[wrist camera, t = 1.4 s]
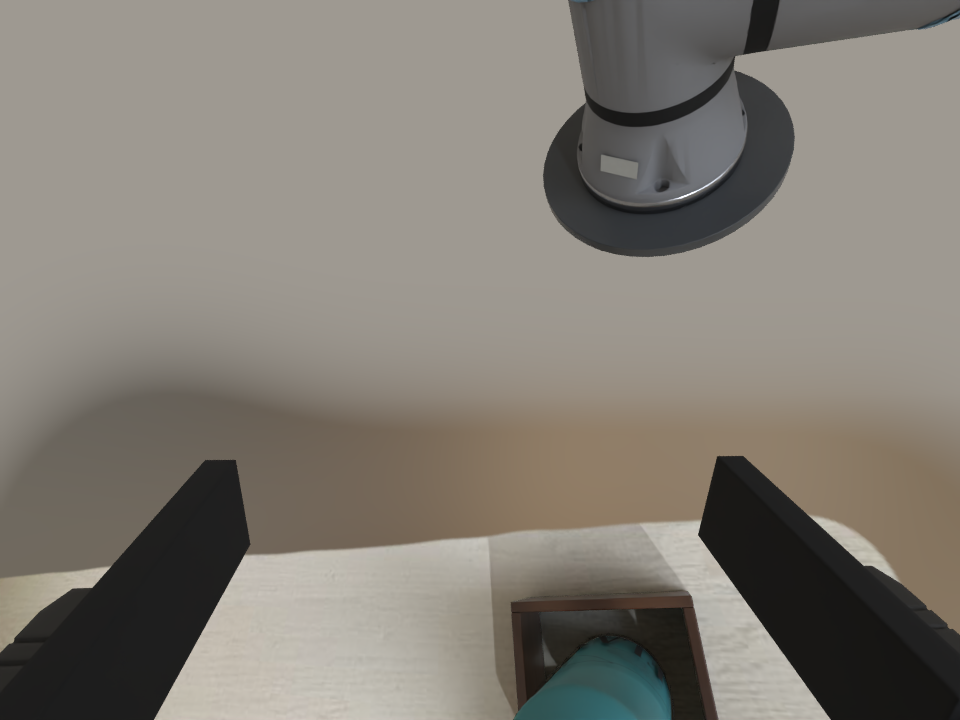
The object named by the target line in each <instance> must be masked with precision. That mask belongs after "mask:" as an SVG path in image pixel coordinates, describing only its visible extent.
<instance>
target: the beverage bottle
mask: <svg viewBox="0 0 960 720" xmlns="http://www.w3.org/2000/svg"><path fill="white" fill-rule="evenodd" d="M599 635H600V634H599ZM599 635H598V638H595V639H592V638H591V639H592V640H590V638H589V640H590V641H589V642H587V641H586V642H587V643H586V644H584V643H583V644H581V645H579V646H578V647H581V648H580V649H578V651H577V652H576V653H575V654H574V655H573V656H572V657H571V658H570V659H569V660H568V661H566V662H565V663H564V662H563V663H564V665H563V664H562V668H561V667H560V668H561V669H560V670H559V671H558V672H557V673H556V674H555V673H554V674H555V675H553V677H551V678H550V680H549V681H548V682H547V683H546V684H545V685H544V686H543V685H542V686H543V687H541V689H540V690H539V691H538V692H537V690H538V689H537V690H535V693H536V692H537V693H536V694H535V693H534V694H535V695H534V696H532V697H531V698H530V699H529V700H528V701H527V702H526V703H525V704H524V705H523V706H522V708H521V709H520V710H519V712H518V713H517V714H516V716H515V718H514V719H513V720H672V719H671V698H670V692H669V689H668V685H667V682H666V680H665V677H664V676H665V675H663V674H665V673H663V672H664V671H663V672H662V670H661V669H662V668H660V667H659V666H660V665H658V664H657V663H658V662H657V663H656V661H655V660H654V659H655V658H654V659H653V658H652V656H651V654H652V653H651V652H650V651H649V650H648V649H647V650H648V651H649V652H650V653H651V654H650V653H648V652H647V650H646V649H645V648H644V649H645V650H646V651H645V650H644V649H643V648H642V647H640V646H639V645H637V644H638V643H637V644H636V642H637V641H636V642H635V641H633V639H632V640H631V641H630V639H631V638H630V639H629V640H628V639H625V638H622V637H617V636H599ZM606 635H612V634H610V633H607V634H606ZM595 636H596V635H595ZM595 636H594V637H595ZM622 636H623V635H622ZM625 637H626V636H625ZM628 638H629V637H628ZM632 641H633V642H632ZM634 642H635V643H634ZM639 644H640V643H639ZM642 646H643V645H642ZM643 647H644V646H643ZM575 650H576V649H575ZM573 652H574V651H573ZM570 655H571V654H570ZM570 655H569V656H570ZM652 655H653V654H652ZM566 659H567V658H566ZM566 659H565V660H566ZM656 660H657V659H656ZM659 664H660V663H659ZM560 665H561V664H559V666H560ZM661 667H662V666H661ZM558 668H559V667H558ZM558 668H557V669H558ZM557 669H556V668H555V670H553V672H554V671H556V670H557ZM551 673H552V672H551ZM551 673H550V674H551ZM550 674H549V675H548V676H550ZM552 674H553V673H552ZM546 679H547V678H546ZM544 681H545V679H544ZM541 684H542V683H541ZM669 684H670V683H669ZM539 686H541V685H539ZM670 687H671V686H670ZM672 700H673V699H672ZM672 704H673V707H674V701H673V703H672ZM673 710H674V709H673ZM673 713H674V712H673ZM673 716H674V714H673ZM674 719H675V718H674ZM674 719H673V720H674Z"/></svg>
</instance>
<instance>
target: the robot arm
mask: <svg viewBox="0 0 960 720" xmlns="http://www.w3.org/2000/svg"><path fill="white" fill-rule="evenodd" d="M568 1H569V7H570V12H571V17H572V23H573V29H574V35H575V40H576V46H577V51H578V56H579V63H580V68H581V74H582V79H583V84H584V90H585V96H586V104H585V109H584V114H583V120H582V130H581V133H580V137H579V141H578V149H577V162H578V167H579V171H580V176H581V179H582V182H583V184H584V186H585V188H586V189H587V191H588V192H589V193H590V194H591V195H592V197H594V198H595V199H596V200H597V201H599V202H600V203H602V204H603V205H605V206H607V207H609V208H612V209H614V210H618V211H621V212H626V213H632V214H658V213H665V212H670V211H674V210H677V209H681V208H684V207H686V206H689V205H691V204H694V203H696V202H698V201H700V200H702V199H704V198H705V197H707V196H708V195H710V194H712V193H713V192H714V191H716V190H717V189H718V188H719V187H721V186H722V185H723V184H724V183H725V182H726V181H727V180H728V179H729V178H730V177H731V175H732V174H733V173H734V171H735V170H736V168H737V167H738V165H739V163H740V161H741V159H742V156H743V153H744V148H745V143H746V137H747V130H748V125H747V116H746V111H745V108H744V105H743V102H742V100H741V98H740V97H739V92H738V88H737V81H736V76H735V72H734V60H735V56H738V55H744V54H750V53H755V52H761V51H769V50H776V49H783V48H790V47H797V46H803V45H810V44H817V43H824V42H830V41H837V40H844V39H850V38H858V37H864V36H871V35H878V34H885V33H892V32H898V31H905V30H914V29H927V28H931V27H935V26H937V25H940V24H942V23H945V22H948V21H950V20H954V19H959V18H960V0H568ZM698 536H699V537H700V538H701V540H702V541H703V543H704V544H705V545H706V547H707V548H708V550H709V551H710V552H711V554H712V555H713V556H714V558H715V559H716V561H717V562H718V563H719V565H720V566H721V568H722V569H723V570H724V572H725V573H726V575H727V576H728V577H729V579H730V580H731V581H732V583H733V584H734V586H735V587H736V588H737V590H738V591H739V593H740V594H741V595H742V597H743V598H744V600H745V601H746V602H747V604H748V605H749V606H750V608H751V609H752V611H753V612H754V613H755V615H756V616H757V618H758V619H759V620H760V622H761V623H762V625H763V626H764V627H765V629H766V630H767V632H768V633H769V634H770V636H771V637H772V638H773V640H774V641H775V643H776V644H777V645H778V647H779V648H780V650H781V651H782V652H783V654H784V655H785V657H786V658H787V659H788V661H789V662H790V663H791V665H792V666H793V668H794V669H795V670H796V672H797V673H798V675H799V676H800V677H801V679H802V680H803V682H804V683H805V684H806V686H807V687H808V689H809V690H810V691H811V693H812V694H813V695H814V697H815V698H816V700H817V701H818V702H819V704H820V705H821V707H822V708H823V709H824V711H825V712H826V714H827V715H828V716H829V718H830V719H831V720H960V635H959V634H958V633H957V632H956V631H955V630H953V629H949V628H948V627H947V623H945V622H944V621H943V620H942V619H941V618H940V617H939V616H937V615H936V614H935V613H934V612H933V611H932V610H928V609H927V608H926V605H925V604H924V603H923V602H921V601H920V600H919V599H918V598H917V597H916V596H914V595H913V594H912V593H911V592H910V591H909V590H908V589H907V588H905V587H904V586H903V585H902V584H901V583H899V582H897V581H896V580H894V579H892V578H891V577H889V576H888V575H886V574H884V573H883V572H881V571H879V570H878V569H876V568H875V567H873V566H863V565H862V564H861V563H860V562H859V561H858V560H857V559H855V558H854V557H853V556H852V555H851V554H850V553H849V552H848V551H847V550H846V549H844V548H843V547H842V546H841V545H840V544H839V543H838V542H837V541H836V540H835V539H834V538H832V537H831V536H830V535H829V534H828V533H827V532H826V531H825V530H824V529H823V528H821V527H820V526H819V525H818V524H817V523H816V522H815V521H814V520H813V519H812V518H810V517H809V516H808V515H807V514H806V513H805V512H804V511H803V510H802V509H801V508H799V507H798V506H797V505H796V504H795V503H794V502H793V501H792V500H791V499H790V498H789V497H787V496H786V495H785V494H784V493H783V492H782V491H781V490H780V489H779V488H778V487H776V486H775V485H774V484H773V483H772V482H771V481H770V480H769V479H768V478H767V477H765V476H764V475H763V474H762V473H761V472H760V471H759V470H758V469H757V468H756V467H754V466H753V465H752V464H751V463H750V462H749V461H748V460H747V459H746V458H745V457H744V456H718V457H717V459H716V464H715V468H714V472H713V476H712V480H711V484H710V488H709V492H708V496H707V501H706V505H705V509H704V513H703V517H702V521H701V525H700V529H699V533H698ZM249 546H250V540H249V534H248V528H247V523H246V517H245V511H244V505H243V499H242V494H241V488H240V482H239V476H238V471H237V465H236V460H205V461H204V462H203V463H202V464H201V466H200V467H199V468H198V469H197V470H196V472H194V474H193V475H192V476H191V477H190V478H189V479H188V480H187V481H186V483H185V484H184V485H183V486H182V487H181V488H180V489H179V491H178V492H177V493H176V494H175V495H174V496H173V497H172V498H171V500H170V501H169V502H168V503H167V504H166V505H165V506H164V507H163V509H162V510H161V511H160V512H159V513H158V514H157V515H156V517H155V518H154V519H153V520H152V521H151V522H150V523H149V524H148V526H147V527H146V528H145V529H144V530H143V532H141V534H140V535H139V536H138V537H137V538H136V539H135V540H134V541H133V543H132V544H131V545H130V546H129V547H128V548H127V549H126V551H125V552H124V553H123V554H122V555H121V556H120V557H119V559H118V560H117V561H116V562H115V563H114V564H113V565H112V566H111V568H110V569H109V570H108V571H107V572H106V573H105V574H104V575H103V577H102V578H101V579H100V580H99V581H98V582H97V583H96V585H95V586H94V587H93V588H77V589H72V590H70V591H69V592H67V593H66V594H64V595H63V596H61V597H60V598H59V599H57V600H56V601H54V602H53V603H51V604H50V605H49V606H47V607H46V608H44V609H43V610H41V611H40V612H39V613H38V614H37V615H36V616H35V617H34V618H33V619H32V620H31V621H30V622H29V624H28V625H27V626H26V627H25V628H24V629H23V630H22V631H21V632H20V633H19V634H18V635H17V636H16V637H15V638H14V639H15V640H14V642H13V643H12V644H8V645H7V647H6V648H5V649H4V650H3V651H2V652H1V653H0V720H154V719H155V717H156V715H157V713H158V711H159V709H160V708H161V706H162V704H163V702H164V700H165V699H166V697H167V695H168V693H169V691H170V689H171V688H172V686H173V684H174V682H175V680H176V679H177V677H178V675H179V673H180V671H181V669H182V668H183V666H184V664H185V662H186V660H187V659H188V657H189V655H190V653H191V651H192V649H193V648H194V646H195V644H196V642H197V640H198V639H199V637H200V635H201V633H202V631H203V629H204V628H205V626H206V624H207V622H208V620H209V618H210V617H211V615H212V613H213V611H214V609H215V608H216V606H217V604H218V602H219V600H220V598H221V597H222V595H223V593H224V591H225V589H226V588H227V586H228V584H229V582H230V580H231V578H232V577H233V575H234V573H235V571H236V569H237V568H238V566H239V564H240V562H241V560H242V558H243V557H244V555H245V553H246V551H247V549H248V547H249Z"/></svg>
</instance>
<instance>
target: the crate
mask: <svg viewBox="0 0 960 720" xmlns="http://www.w3.org/2000/svg"><path fill="white" fill-rule="evenodd" d="M693 606H694V605H693V600H692V596H691V595H690V594H689V592H688V591H673V592H649V593H624V594H599V595H575V596H550V597H530V598H526V599H522V600H518V601H514V602H511V612H512V628H513V642H514V656H515V670H516V684H517V698H518V712H519V710H520V709H521V708H522V706H523V705H524V704H525V703H526V702H527V701H528V700H529V699H530V698H531V697H532V696H534V695H535V694H536V693H537V692H538V691H539V690H540V689H541V687H543V686H544V685H545V684H546V679H545V668H544V657H543V646H542V636H541V625H540V614H539V612H551V611H583V610H615V609H648V608H680V607H682V612H683V617H684V621H685V626H686V631H687V636H688V641H689V646H690V650H691V655H692V660H693V665H694V670H695V675H696V679H697V684H698V689H699V694H700V699H701V704H702V708H703V713H704V718H705V720H718V716H717V711H716V707H715V702H714V697H713V693H712V688H711V683H710V679H709V674H708V670H707V665H706V660H705V656H704V651H703V647H702V642H701V637H700V633H699V628H698V623H697V619H696V614H695V610H694V607H693ZM544 679H545V681H544ZM541 683H542V684H541ZM539 685H541V686H539ZM542 685H543V686H542ZM537 689H538V690H537ZM535 690H537V692H536V693H535ZM534 693H535V694H534Z"/></svg>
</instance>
